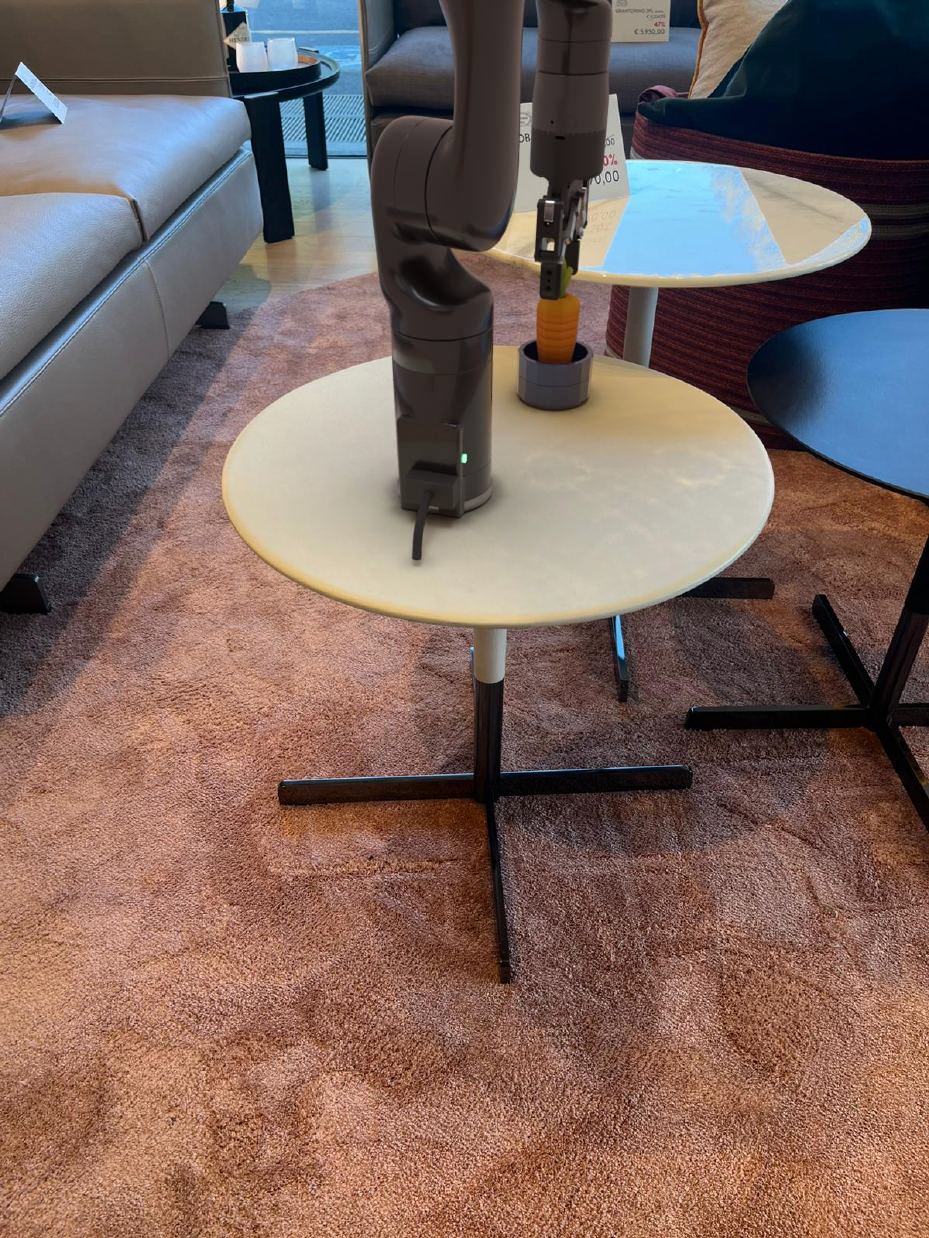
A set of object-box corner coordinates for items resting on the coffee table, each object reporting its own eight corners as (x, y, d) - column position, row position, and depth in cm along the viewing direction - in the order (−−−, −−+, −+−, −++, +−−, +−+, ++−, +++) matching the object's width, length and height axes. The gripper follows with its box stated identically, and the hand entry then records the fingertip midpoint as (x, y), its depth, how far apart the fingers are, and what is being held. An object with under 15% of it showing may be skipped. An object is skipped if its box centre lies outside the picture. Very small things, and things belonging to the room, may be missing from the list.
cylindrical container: (580, 415, 106) (584, 370, 102) (508, 405, 108) (509, 360, 105) (595, 385, 112) (599, 341, 109) (527, 376, 114) (529, 333, 111)
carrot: (559, 403, 107) (568, 272, 98) (524, 392, 109) (529, 263, 100) (582, 389, 110) (592, 260, 101) (547, 378, 112) (554, 251, 103)
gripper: (549, 108, 98) (541, 263, 108) (513, 133, 88) (508, 304, 98) (619, 111, 96) (605, 270, 106) (591, 138, 86) (578, 311, 96)
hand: (559, 286), depth 102 cm, fingers open, 8 cm apart
